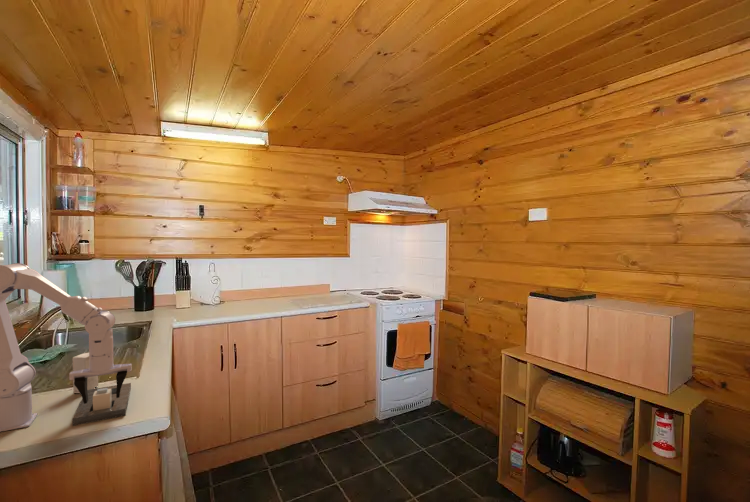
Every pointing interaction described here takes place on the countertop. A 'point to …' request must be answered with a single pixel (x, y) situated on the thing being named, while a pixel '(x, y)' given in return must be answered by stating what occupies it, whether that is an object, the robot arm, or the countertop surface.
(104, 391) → the plug
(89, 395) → the panel
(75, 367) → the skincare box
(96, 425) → the countertop surface
